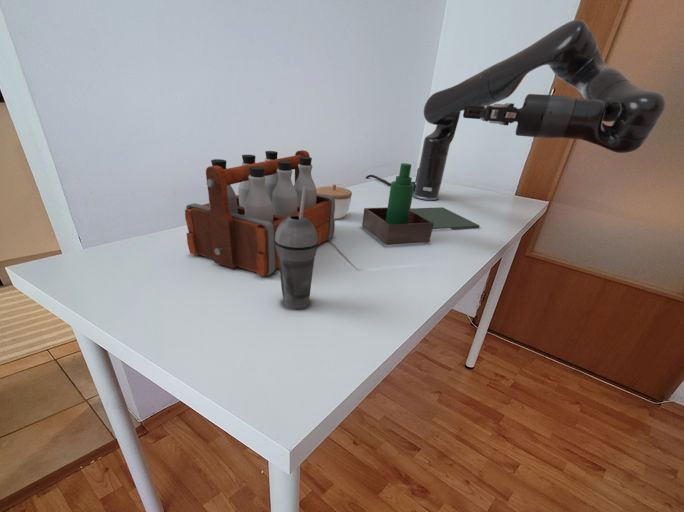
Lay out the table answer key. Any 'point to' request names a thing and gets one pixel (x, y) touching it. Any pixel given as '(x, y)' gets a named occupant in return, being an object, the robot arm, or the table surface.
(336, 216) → the trinket box
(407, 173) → the bottle
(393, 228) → the open wooden box
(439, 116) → the robot arm
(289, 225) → the beverage cup
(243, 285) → the table surface
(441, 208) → the mat
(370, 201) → the table surface
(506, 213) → the table surface
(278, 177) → the milk bottle holder
